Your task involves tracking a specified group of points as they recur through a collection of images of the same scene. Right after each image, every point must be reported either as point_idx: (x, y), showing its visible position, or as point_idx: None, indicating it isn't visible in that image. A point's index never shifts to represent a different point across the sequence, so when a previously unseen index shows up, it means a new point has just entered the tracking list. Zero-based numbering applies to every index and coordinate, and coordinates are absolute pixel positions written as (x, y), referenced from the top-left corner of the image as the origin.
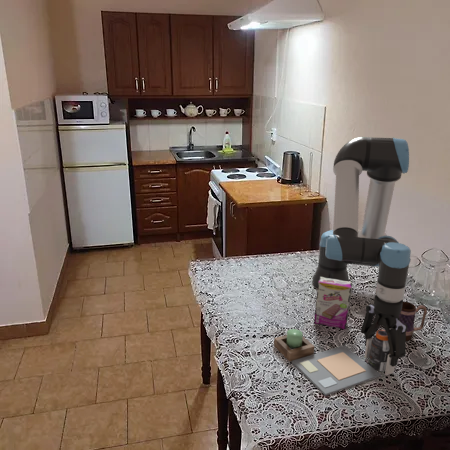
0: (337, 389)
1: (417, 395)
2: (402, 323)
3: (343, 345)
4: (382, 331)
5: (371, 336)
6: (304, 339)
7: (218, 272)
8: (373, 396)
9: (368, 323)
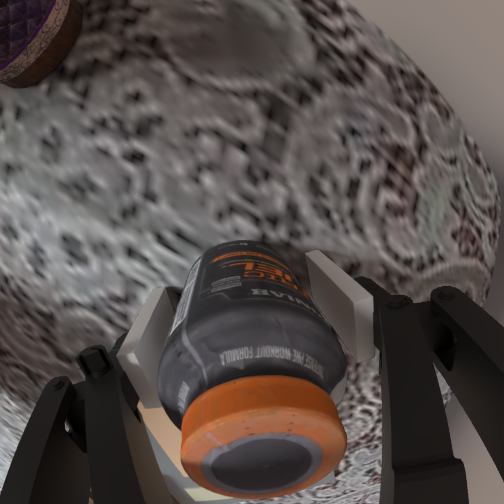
0: None
1: (447, 231)
2: (2, 21)
3: (81, 374)
4: (229, 467)
5: (124, 387)
6: None
7: None
8: None
9: (72, 480)
